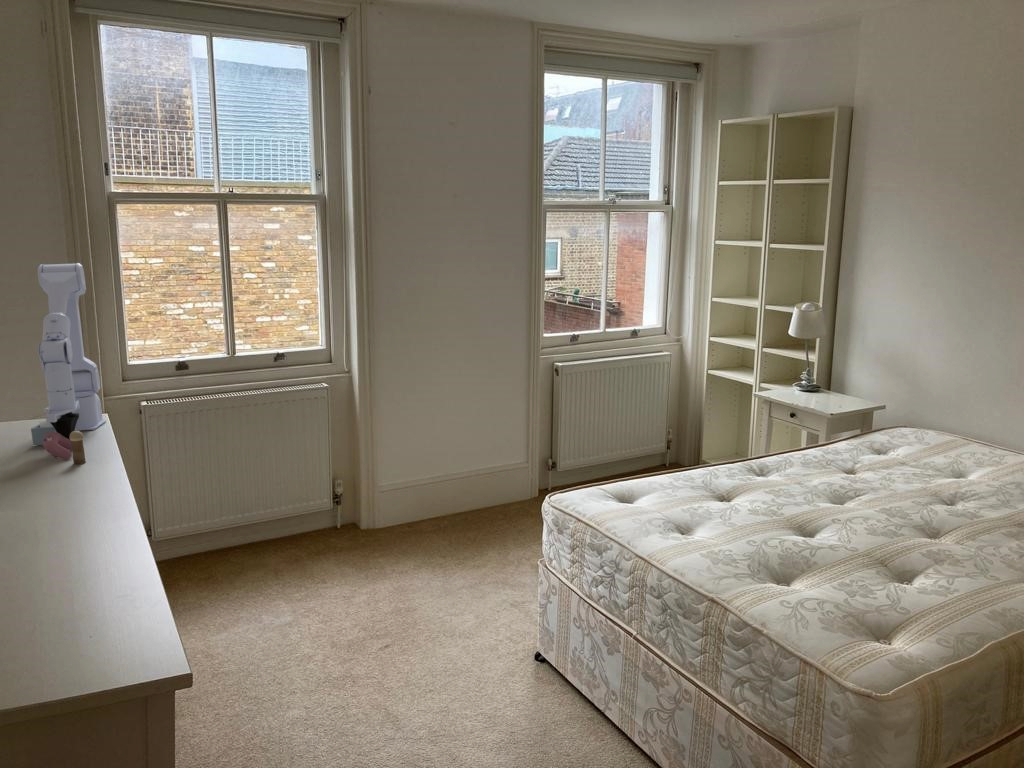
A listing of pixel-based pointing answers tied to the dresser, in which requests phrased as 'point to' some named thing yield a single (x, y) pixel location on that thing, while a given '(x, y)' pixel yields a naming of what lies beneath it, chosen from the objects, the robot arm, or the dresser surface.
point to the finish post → (77, 447)
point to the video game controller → (57, 445)
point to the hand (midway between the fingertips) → (67, 444)
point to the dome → (45, 424)
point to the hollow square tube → (40, 433)
